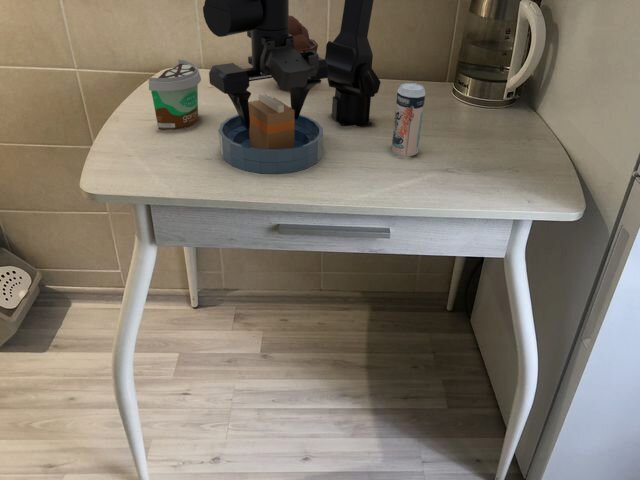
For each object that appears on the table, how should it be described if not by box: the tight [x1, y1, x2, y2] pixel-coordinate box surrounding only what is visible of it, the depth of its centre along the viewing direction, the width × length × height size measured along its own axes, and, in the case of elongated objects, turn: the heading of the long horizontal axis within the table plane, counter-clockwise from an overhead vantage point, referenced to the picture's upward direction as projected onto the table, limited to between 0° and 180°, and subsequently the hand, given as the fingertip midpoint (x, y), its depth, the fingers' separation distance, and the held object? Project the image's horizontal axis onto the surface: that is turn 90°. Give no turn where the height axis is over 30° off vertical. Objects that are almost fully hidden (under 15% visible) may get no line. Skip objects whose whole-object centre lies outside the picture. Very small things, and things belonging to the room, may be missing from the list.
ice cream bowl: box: [279, 15, 319, 92], centre depth 126 cm, size 11×11×15 cm
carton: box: [248, 92, 294, 150], centre depth 100 cm, size 5×6×9 cm
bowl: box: [218, 113, 324, 175], centre depth 101 cm, size 17×17×4 cm
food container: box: [148, 58, 202, 131], centre depth 108 cm, size 12×6×10 cm, turn 168°
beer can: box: [391, 82, 427, 158], centre depth 103 cm, size 5×5×12 cm
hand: (271, 123), depth 100 cm, fingers open, 9 cm apart
